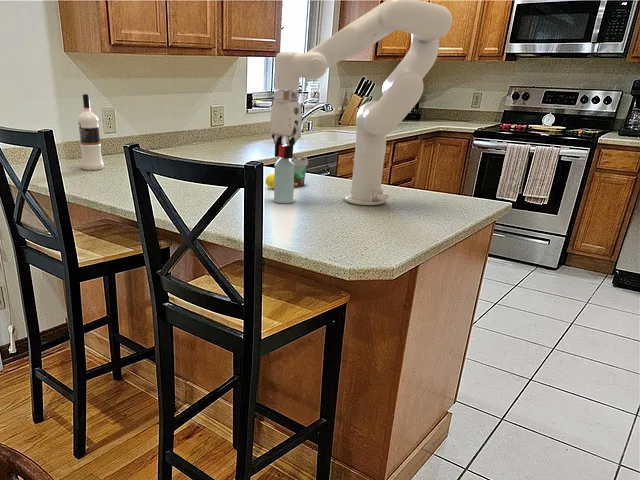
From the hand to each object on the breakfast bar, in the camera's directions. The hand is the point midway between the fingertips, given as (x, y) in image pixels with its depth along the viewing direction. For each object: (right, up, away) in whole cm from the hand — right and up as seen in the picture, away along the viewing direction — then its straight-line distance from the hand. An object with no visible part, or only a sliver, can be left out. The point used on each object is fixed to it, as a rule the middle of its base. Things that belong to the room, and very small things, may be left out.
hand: (283, 156), depth 169 cm
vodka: (-78, +10, +57) cm, 97 cm away
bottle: (0, -13, +6) cm, 14 cm away
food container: (+8, -3, +30) cm, 32 cm away
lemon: (-2, -5, +24) cm, 25 cm away
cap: (0, 0, 0) cm, 0 cm away
